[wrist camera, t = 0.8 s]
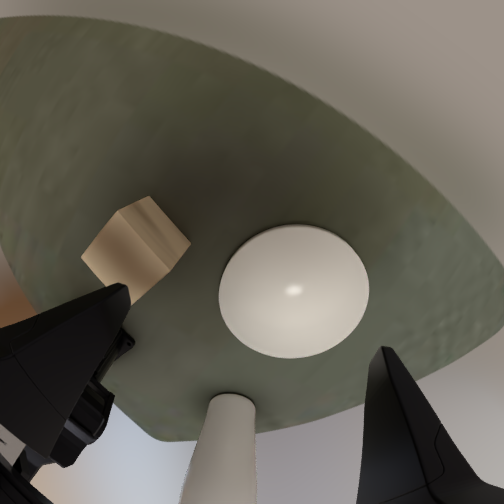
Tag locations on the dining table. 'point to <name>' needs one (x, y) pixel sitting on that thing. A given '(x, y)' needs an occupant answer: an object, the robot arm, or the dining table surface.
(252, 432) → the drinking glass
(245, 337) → the plate
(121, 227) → the oak block
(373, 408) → the robot arm
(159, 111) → the dining table surface
